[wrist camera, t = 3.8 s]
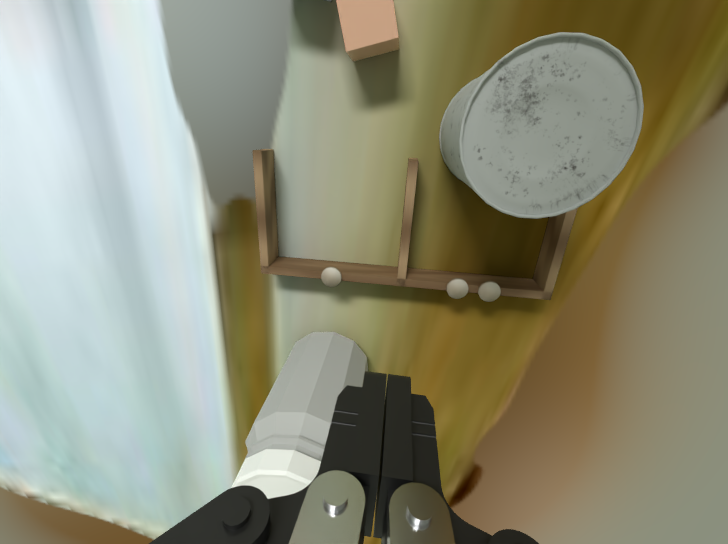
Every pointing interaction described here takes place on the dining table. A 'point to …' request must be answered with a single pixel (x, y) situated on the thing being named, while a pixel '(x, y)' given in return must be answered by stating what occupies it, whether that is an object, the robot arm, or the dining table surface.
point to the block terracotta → (368, 27)
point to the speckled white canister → (545, 125)
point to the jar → (300, 414)
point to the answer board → (403, 251)
